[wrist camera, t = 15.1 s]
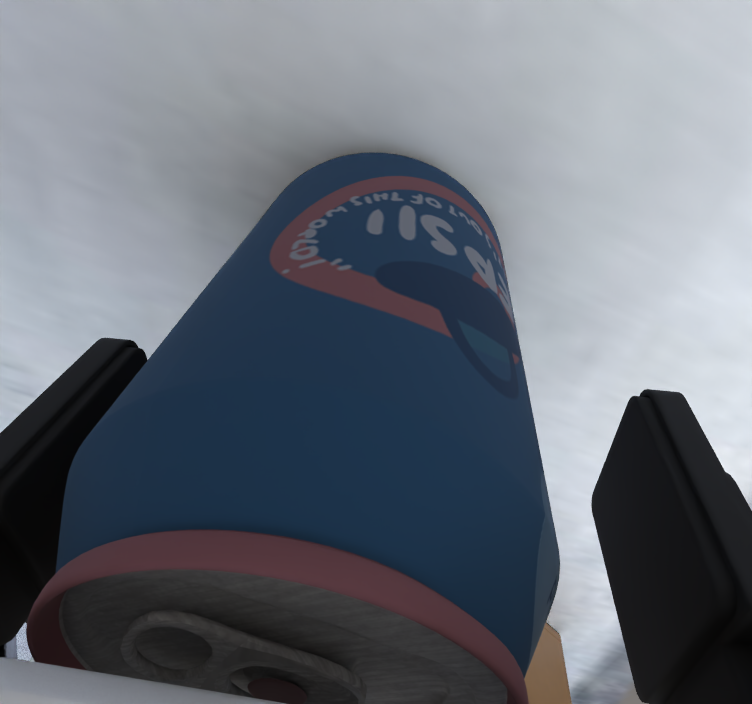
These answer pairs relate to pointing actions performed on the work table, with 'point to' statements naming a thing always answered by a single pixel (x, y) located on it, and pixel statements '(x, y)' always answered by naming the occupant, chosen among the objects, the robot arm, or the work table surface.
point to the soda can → (321, 468)
